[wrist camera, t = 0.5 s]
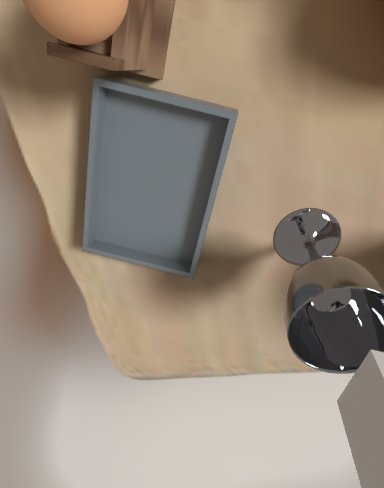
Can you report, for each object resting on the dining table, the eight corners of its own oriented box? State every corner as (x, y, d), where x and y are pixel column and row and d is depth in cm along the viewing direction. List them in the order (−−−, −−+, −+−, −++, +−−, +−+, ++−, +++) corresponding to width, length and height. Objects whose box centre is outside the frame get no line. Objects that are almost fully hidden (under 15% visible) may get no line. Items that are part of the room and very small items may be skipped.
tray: (104, 76, 31) (93, 77, 29) (238, 109, 31) (238, 113, 29) (91, 239, 40) (82, 250, 38) (196, 265, 40) (193, 278, 38)
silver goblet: (263, 263, 39) (276, 364, 26) (279, 199, 35) (303, 279, 22) (332, 273, 38) (381, 381, 25) (355, 210, 35) (428, 298, 21)
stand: (97, -66, 27) (23, -134, 17) (181, -44, 27) (152, -102, 17) (89, 60, 31) (28, 58, 22) (162, 78, 31) (131, 84, 22)
